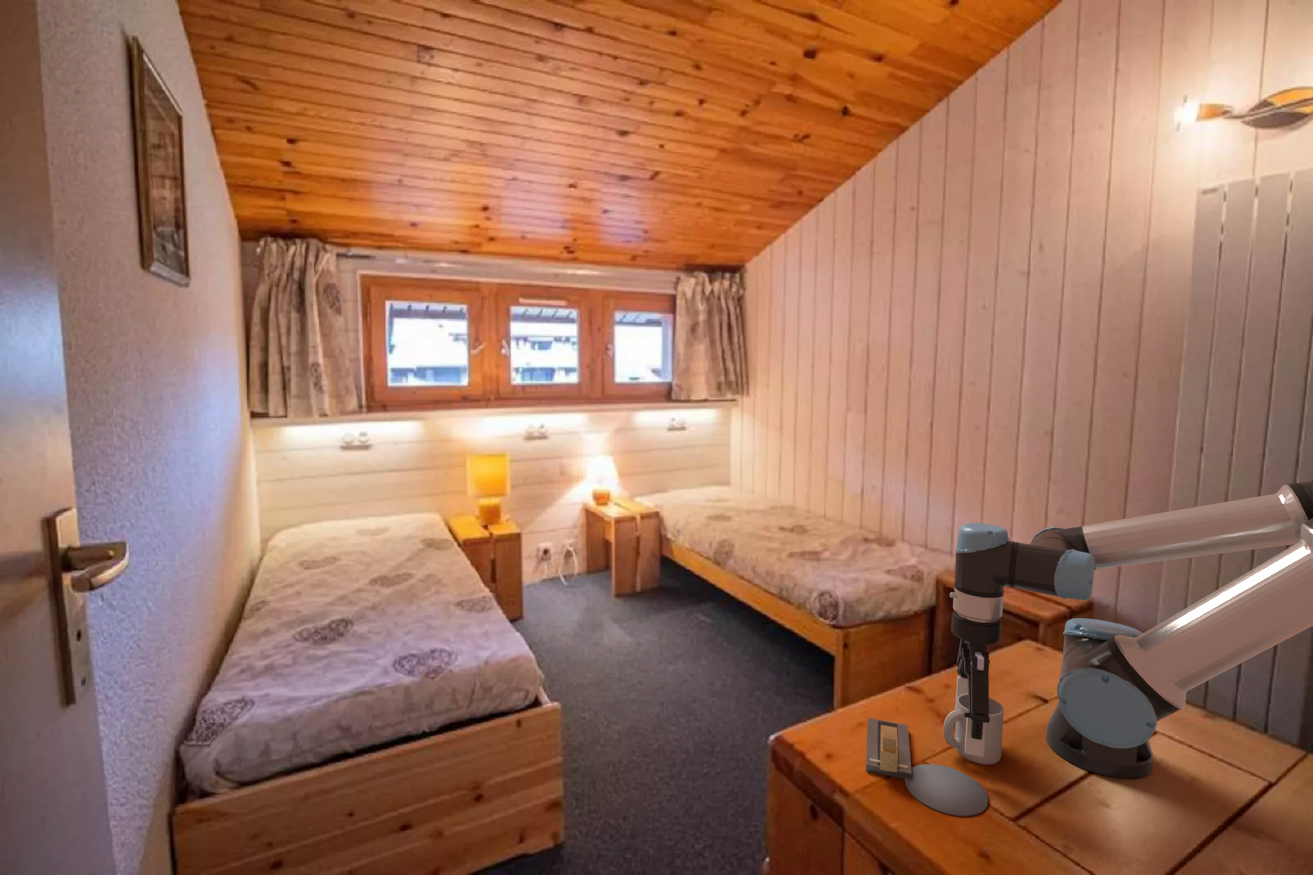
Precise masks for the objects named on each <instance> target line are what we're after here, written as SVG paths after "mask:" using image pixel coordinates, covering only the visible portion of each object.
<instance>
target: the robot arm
mask: <svg viewBox="0 0 1313 875" xmlns="http://www.w3.org/2000/svg"><path fill="white" fill-rule="evenodd" d="M957 535H958V536H957V541H956V542H957V543H956V549H955V562H954V564H955V567H954V583H953V584H954V585H953V586H954V588H953V590H954V591H953V592H952V591H951V592H950V593H949V597H950V598H951V599H953V601H952V608H953V610H954V611H952V612H951V623H950V625H951V626H950V628H951V633H952V634H953V636H955V637H956V638H957V639H960V640H959V645H958V646H959V647H958V654H957V659H956V663H955V665H956V668H957V670H956V673H957V678H956V692H955V693H956V694H955V707H954V710H956V708H957V697H958V696H960V695H962V694H968V698H969V712H968V713H966V712H965V713H964V717H967V724H966V738H965V754H970V755H975V756H980V757H984V745H985V731H986V723H989V721H990V718H989V698H990V694H989V693H990V691H989V690H990V685H989V683H990V681H989V680H990V678H989V675H990V673H989V672H990V662H991V660H990V654H989V651H987V646H988V645H995V644H997V643H998V642H1000V640H1001V635H1002V633H1001V632H1002V620H1001V619H1000V618H1002V617H1003V612H1004V611H1003V609H1004V599H1005V591H1004V590H1005V587H1009V588H1012V589H1019V590H1022V591H1026V592H1027V591H1029V592H1033V593H1039V594H1044V595H1049V596H1054V597H1059V598H1061V599H1064V600H1065V599H1072V600H1078V601H1080V600H1081V601H1087V600H1089V599H1091V597H1092V595H1093V589H1094V588H1093V587H1094V578H1095V577H1094V576H1095V571H1096V570H1104V569H1109V568H1116V567H1117V568H1120V567H1126V566H1134V565H1141V564H1142V565H1143V564H1149V563H1157V562H1165V561H1173V560H1179V559H1189V558H1194V557H1195V558H1196V557H1204V556H1213V555H1220V554H1228V553H1236V552H1244V551H1251V550H1259V549H1266V548H1275V547H1281V546H1289V545H1292V546H1290V547H1288V548H1286V549H1284V550H1283V551H1281V552H1280V553H1278V554H1276V555H1274V556H1273V557H1271V558H1269V559H1268V560H1266V561H1265V562H1263V563H1261V564H1259V565H1257V566H1256V567H1254V568H1252V569H1251V570H1249V571H1246V573H1244V574H1242V575H1241V576H1239V577H1237V578H1235V579H1234V580H1232V581H1231V582H1228V583H1227V584H1225V585H1224V586H1222V587H1220V588H1218V589H1217V590H1214V591H1213V592H1211V593H1210V594H1208V595H1206V596H1204V597H1203V598H1201V599H1200V600H1198V601H1196V602H1194V603H1193V604H1191V605H1189V606H1188V607H1186V608H1183V610H1181V611H1179V612H1177V613H1175V614H1174V615H1172V616H1171V617H1169V618H1167V619H1165V620H1164V621H1162V622H1160V623H1158V624H1157V625H1155V626H1154V627H1152V628H1150V629H1149V630H1146V631H1145V632H1142V631H1140V630H1138V629H1136V628H1134V627H1131V626H1127V625H1124V624H1121V623H1117V622H1111V621H1107V620H1101V619H1095V618H1094V619H1093V618H1086V617H1085V618H1083V617H1082V618H1081V617H1080V618H1079V617H1077V618H1071V619H1068V620H1067V621H1066V622H1065V625H1064V631H1063V636H1064V637H1063V652H1062V660H1061V668H1060V674H1059V679H1058V683H1057V686H1056V688H1057V690H1056V694H1057V699H1058V702H1057V704H1056V707H1055V709H1054V710H1053V713H1052V714H1051V716H1050V718H1049V720H1048V722H1047V725H1046V734H1045V739H1046V743H1047V745H1048V746H1049V747H1050V748H1051V749H1052V750H1053V752H1055V753H1056V754H1057V755H1059V756H1060V757H1061V758H1063V759H1065V761H1067V762H1069V763H1071V764H1073V765H1075V766H1078V767H1079V768H1082V769H1084V770H1087V771H1090V772H1092V773H1096V774H1098V775H1102V776H1106V777H1111V778H1117V779H1127V780H1128V779H1129V780H1133V779H1141V778H1145V777H1147V776H1148V775H1150V774H1151V772H1152V771H1153V763H1154V762H1153V760H1154V754H1153V750H1152V746H1151V744H1150V740H1149V739H1150V738H1151V737H1152V736H1153V734H1154V733H1155V731H1156V728H1157V725H1158V724H1157V723H1158V722H1159V721H1161V720H1163V719H1165V718H1168V717H1170V716H1171V715H1173V714H1175V713H1177V712H1178V711H1180V710H1183V709H1185V708H1186V702H1187V700H1186V699H1187V697H1186V696H1187V692H1188V691H1190V690H1192V689H1194V688H1196V687H1198V686H1200V685H1202V684H1204V683H1205V682H1208V681H1209V680H1211V679H1213V678H1215V677H1217V676H1219V675H1221V674H1223V673H1225V672H1227V671H1228V670H1230V669H1232V668H1235V667H1237V666H1239V665H1240V664H1242V663H1244V662H1246V661H1247V660H1250V659H1252V658H1253V657H1256V656H1258V655H1259V654H1261V653H1262V652H1265V651H1267V650H1269V649H1271V648H1273V647H1275V646H1277V645H1279V644H1280V643H1283V642H1284V641H1286V640H1288V639H1290V638H1292V637H1293V636H1296V635H1297V634H1300V633H1302V632H1303V631H1305V630H1307V629H1310V628H1311V627H1313V479H1310V480H1306V481H1299V482H1296V483H1289V484H1283V485H1282V486H1281V487H1280V489H1279V490H1278V491H1277V492H1276V493H1273V494H1267V495H1261V496H1254V497H1248V498H1242V499H1236V500H1229V501H1225V502H1219V503H1212V504H1206V505H1200V506H1195V507H1188V508H1182V509H1181V508H1180V509H1177V510H1176V509H1175V510H1170V511H1163V512H1159V513H1152V514H1146V515H1140V516H1139V515H1138V516H1134V517H1127V518H1122V519H1117V520H1115V519H1114V520H1110V521H1105V522H1099V523H1092V524H1087V525H1081V526H1075V527H1069V528H1068V527H1067V528H1063V527H1060V526H1059V527H1057V526H1051V527H1046V528H1044V529H1042V530H1040V531H1039V532H1038V533H1036V534H1035V535H1034V536H1033V538H1032V539H1031V541H1030V543H1022V542H1019V541H1013V540H1010V536H1009V532H1008V530H1007V529H1005V527H1002V526H999V525H993V524H991V523H985V522H984V523H982V522H970V523H965V524H963V525H961V527H959V528H958V534H957Z"/></svg>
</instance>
